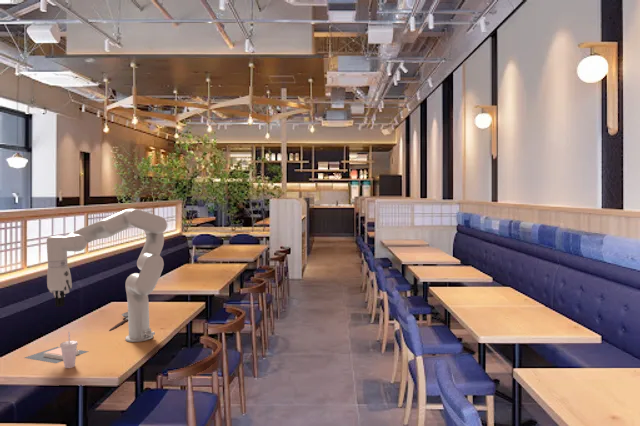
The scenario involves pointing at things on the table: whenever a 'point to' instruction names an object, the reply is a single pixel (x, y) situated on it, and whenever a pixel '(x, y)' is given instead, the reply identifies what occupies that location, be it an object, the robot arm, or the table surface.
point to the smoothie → (69, 352)
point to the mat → (41, 357)
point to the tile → (56, 353)
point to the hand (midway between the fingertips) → (60, 306)
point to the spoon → (122, 321)
